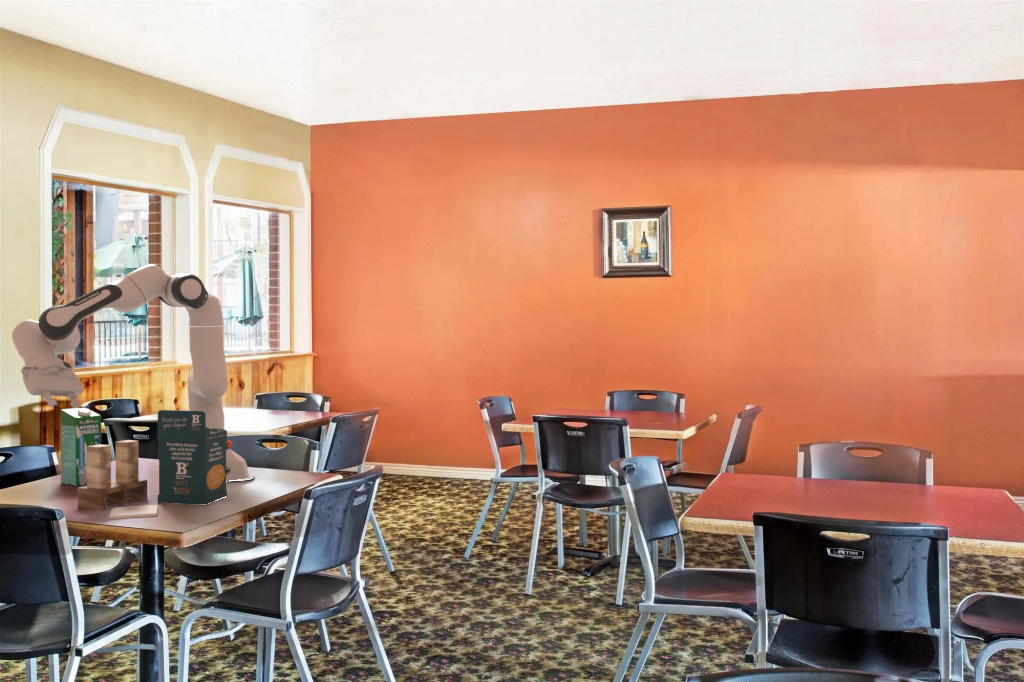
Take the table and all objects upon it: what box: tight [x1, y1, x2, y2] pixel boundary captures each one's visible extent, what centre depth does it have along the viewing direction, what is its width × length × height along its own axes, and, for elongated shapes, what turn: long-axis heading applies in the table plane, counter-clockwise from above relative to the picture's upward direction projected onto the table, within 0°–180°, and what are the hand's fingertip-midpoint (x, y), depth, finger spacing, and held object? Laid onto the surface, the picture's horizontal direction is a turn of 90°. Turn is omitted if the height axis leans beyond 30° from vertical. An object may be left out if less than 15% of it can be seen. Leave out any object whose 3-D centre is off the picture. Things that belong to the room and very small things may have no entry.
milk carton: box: [60, 407, 102, 486], centre depth 297 cm, size 9×9×25 cm
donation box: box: [157, 409, 228, 505], centre depth 271 cm, size 16×16×28 cm
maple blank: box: [86, 444, 112, 489], centre depth 258 cm, size 4×4×12 cm
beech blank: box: [115, 439, 140, 482], centre depth 269 cm, size 4×4×12 cm
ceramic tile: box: [109, 504, 159, 520], centre depth 251 cm, size 12×12×1 cm
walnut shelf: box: [77, 478, 148, 512], centre depth 264 cm, size 18×9×6 cm, turn 161°
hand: (65, 406), depth 266 cm, fingers open, 8 cm apart
